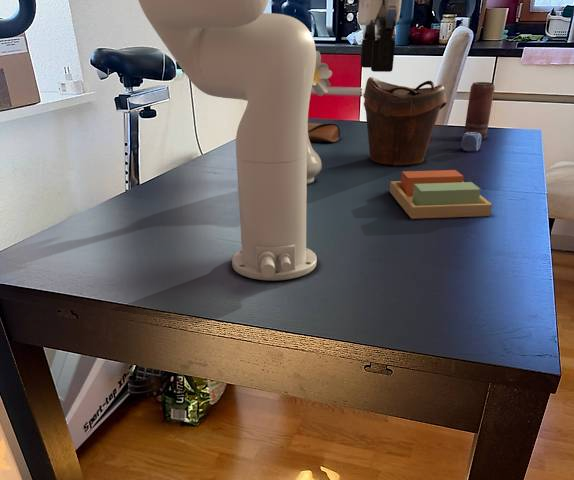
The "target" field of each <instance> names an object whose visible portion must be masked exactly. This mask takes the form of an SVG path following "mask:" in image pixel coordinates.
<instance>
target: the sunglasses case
mask: <svg viewBox="0 0 574 480" xmlns="http://www.w3.org/2000/svg"><path fill="white" fill-rule="evenodd" d="M308 135H309V140H310V143H335V142H337V141H339V140H340V136H341V129H340V126H339V125H338V124H336V123H331V122H329V123H328V122H327V123H317V122H308Z"/></svg>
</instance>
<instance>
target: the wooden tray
mask: <svg viewBox="0 0 574 480" xmlns="http://www.w3.org/2000/svg"><path fill="white" fill-rule="evenodd" d="M400 186H401V180H397V181H396V180H393V181H392V180H391V181H390V183H389V193H390V194H391V195H392V197H393V198H394V199H395V201H396V202H397V203H398V204H399V205H400V206H401V208H402V209H403V210H404V212H405V213H406V214H407V215H408V217H409V218H410V219H411V220H414V219H415V220H416V219H442V218H443V219H445V218H471V217H473V218H475V217H491V214H492V208H493V204H492V203H491V202H490V201H489V200H487V199H486V198H485V197H484V196H482V195H481V194H480V197H479V203H478V204H456V205H426V206H415V205H414V203H413V202H412V199H413V196H407V195H406V194H405V193H404V192H403V191H402V190H401V188H400Z"/></svg>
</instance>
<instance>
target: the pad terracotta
mask: <svg viewBox="0 0 574 480" xmlns="http://www.w3.org/2000/svg"><path fill="white" fill-rule="evenodd" d="M400 181H401V186H400V188H401V190H402V191H403V192H404V193H405V194H406V195H407V196H413V189H414V184H427V183H459V182H464V175H463V174H461V173H460V172H459V171H458V170H456V169H445V170H443V169H441V170H438V169H437V170H411V171H410V170H409V171H408V170H406V171H405V170H404V171H401V179H400Z"/></svg>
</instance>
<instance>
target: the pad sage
mask: <svg viewBox="0 0 574 480" xmlns="http://www.w3.org/2000/svg"><path fill="white" fill-rule="evenodd" d="M481 191H482V189H481V187H479V186H477V185H476V184H475V183H473V182H472V181H463V182H459V183H427V184H414V189H413V199H412V202H413V203H414V205H415V206H426V205H456V204H478V203H479V197H480V195H481Z"/></svg>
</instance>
